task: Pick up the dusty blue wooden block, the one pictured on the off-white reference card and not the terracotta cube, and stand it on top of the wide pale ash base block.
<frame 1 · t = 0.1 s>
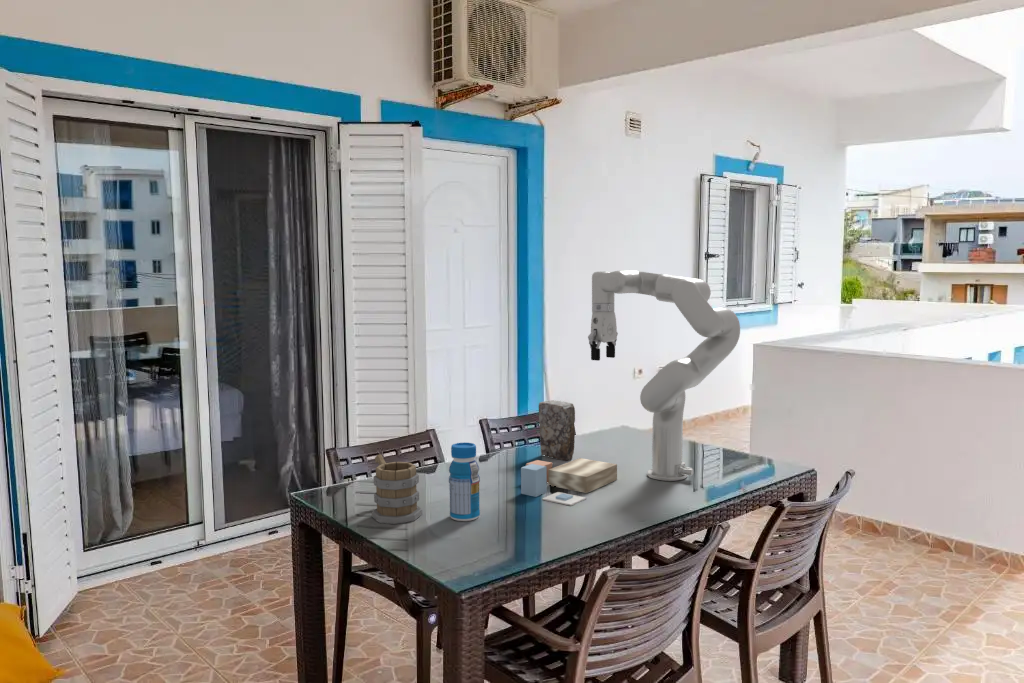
hand: (603, 358, 253), 37 cm above the table, tool pointing down, fingers open, 9 cm apart
blue block: (534, 493, 226), on the table
tankard: (392, 513, 209), on the table
reference card: (564, 499, 219), on the table
ash base block: (583, 482, 236), on the table
beverage bottle: (464, 517, 204), on the table
terracotta cube: (539, 481, 238), on the table
stone block: (557, 457, 269), on the table
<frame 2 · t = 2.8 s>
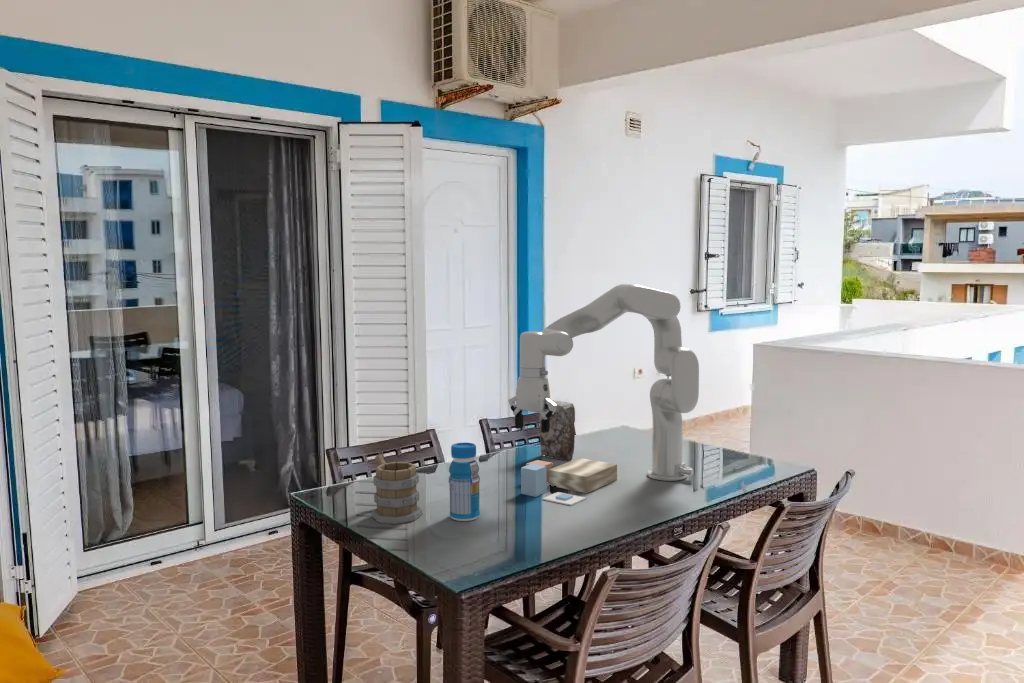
hand: (532, 430, 224), 19 cm above the table, tool pointing down, fingers open, 9 cm apart
nothing on the table moved.
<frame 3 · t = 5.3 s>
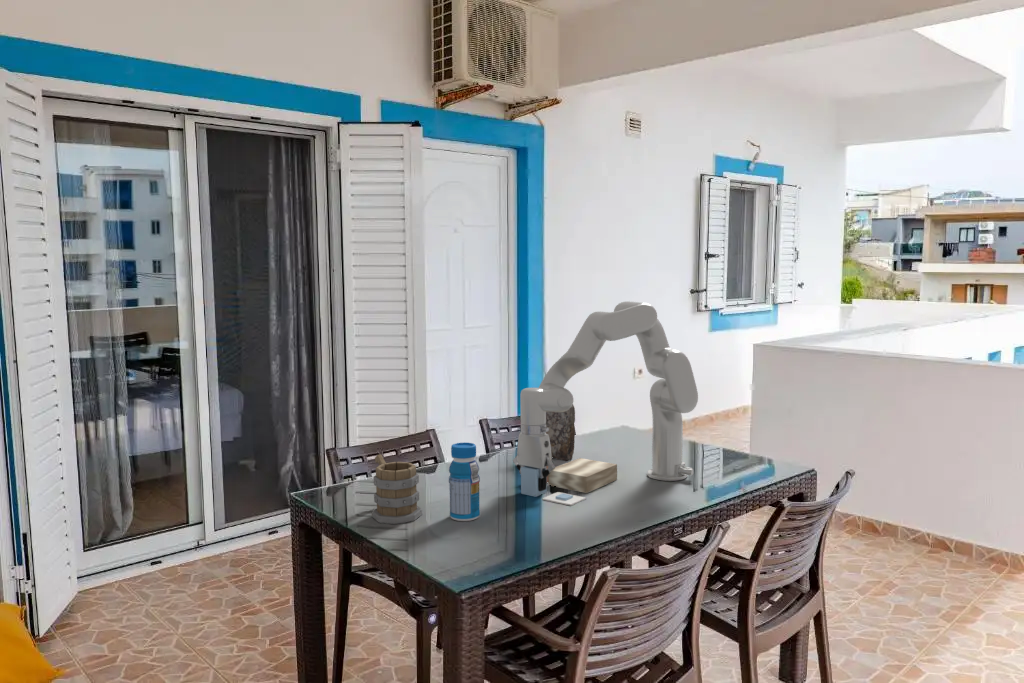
hand: (533, 487, 225), 2 cm above the table, tool pointing down, fingers closed on blue block, 5 cm apart
blue block: (533, 492, 226), on the table, touching gripper
everything else where it was.
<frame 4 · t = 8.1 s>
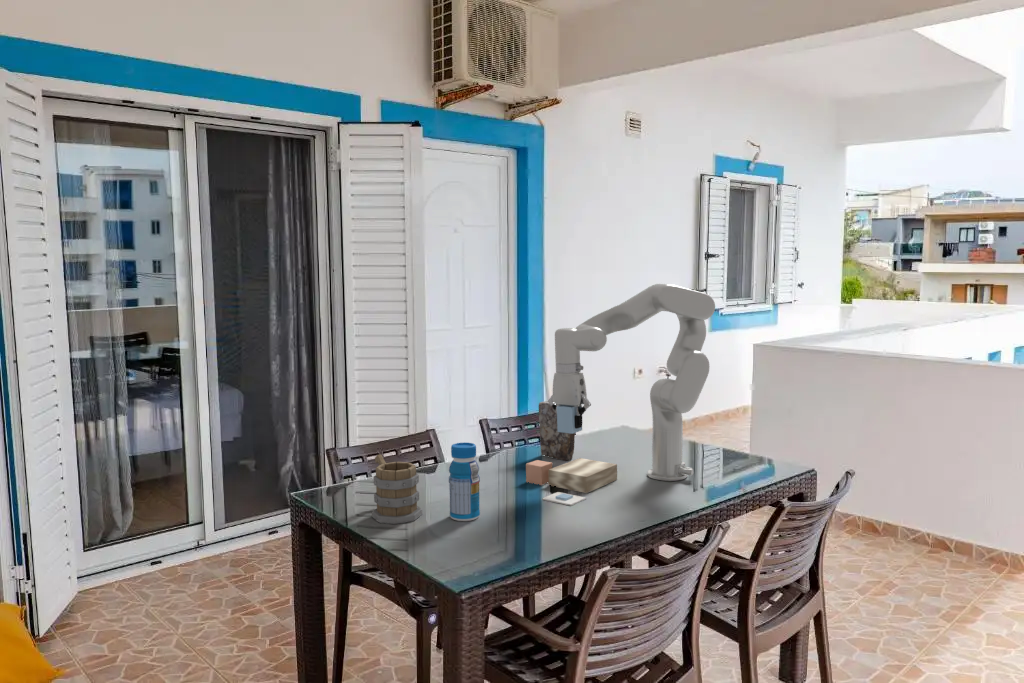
hand: (569, 426, 231), 19 cm above the table, tool pointing down, fingers closed on blue block, 5 cm apart
blue block: (569, 431, 231), point 17 cm above the table, touching gripper
everything else where it was.
when the fingers open (8 cm above the table, at t = 11.0 s): blue block drops 1 cm, resting on ash base block.
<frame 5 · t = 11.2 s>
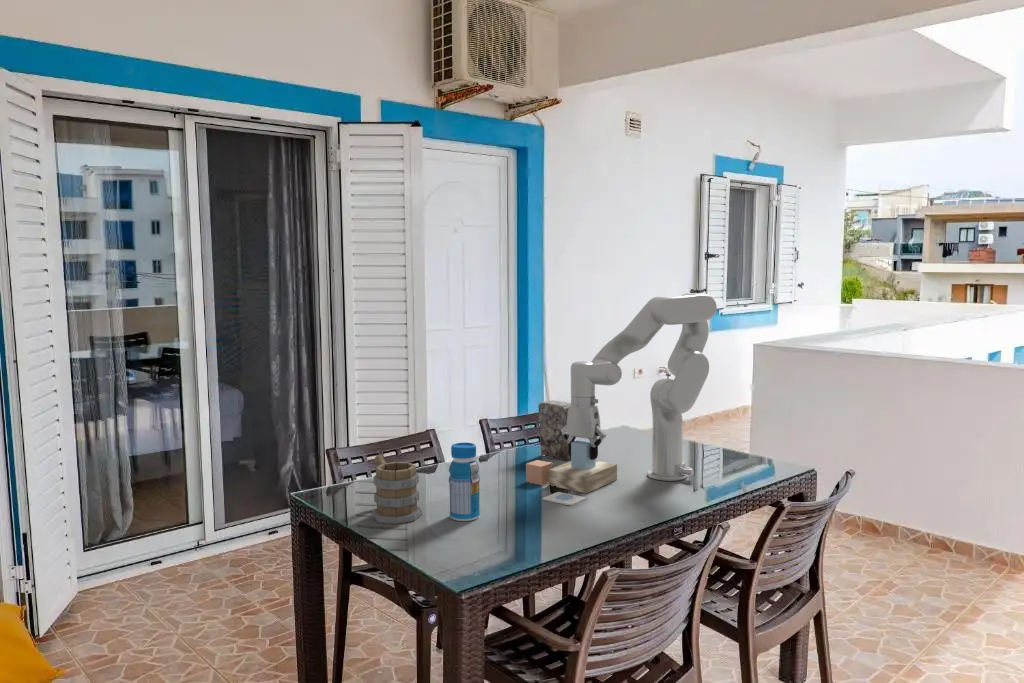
hand: (583, 456, 235), 8 cm above the table, tool pointing down, fingers open, 7 cm apart
blue block: (583, 466, 235), point 5 cm above the table, touching ash base block
everything else where it was.
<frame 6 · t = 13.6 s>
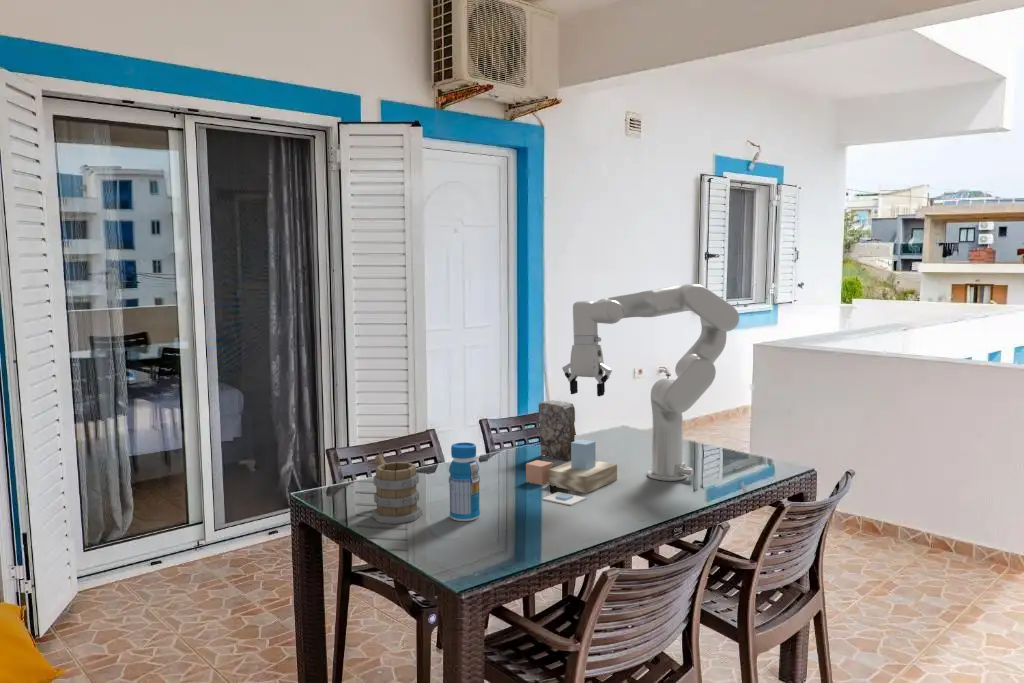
hand: (587, 394, 236), 28 cm above the table, tool pointing down, fingers open, 9 cm apart
nothing on the table moved.
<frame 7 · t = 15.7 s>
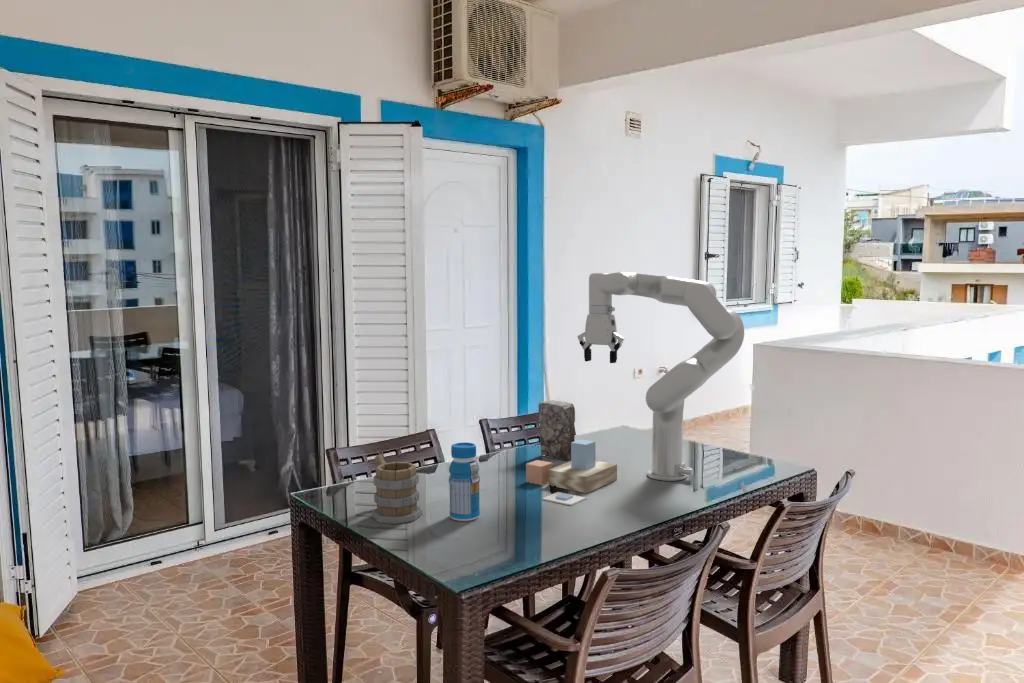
hand: (600, 361, 248), 36 cm above the table, tool pointing down, fingers open, 9 cm apart
nothing on the table moved.
at the end: blue block inside the target area on the ash base block (0.1 cm from its centre), point 5.0 cm above the ash base block's base; blue block tilted 0°; the gripper is holding nothing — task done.
